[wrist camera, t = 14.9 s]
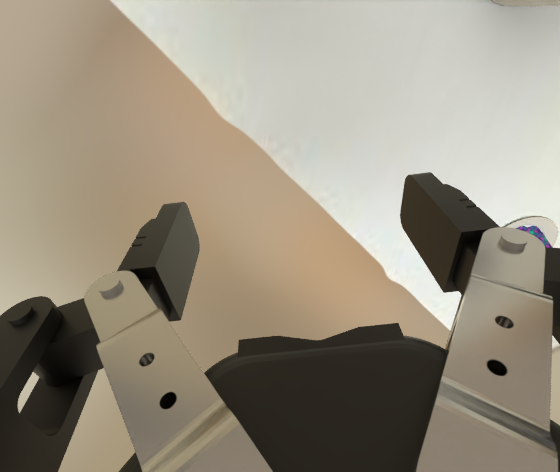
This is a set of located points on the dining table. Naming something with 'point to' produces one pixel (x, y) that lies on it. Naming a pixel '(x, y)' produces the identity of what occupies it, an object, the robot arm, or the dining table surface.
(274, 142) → the dining table surface
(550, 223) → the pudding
